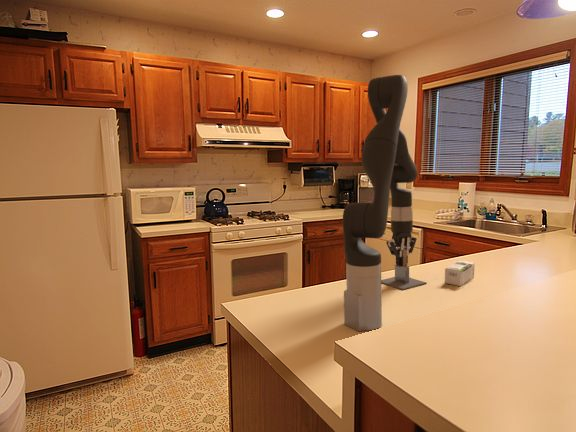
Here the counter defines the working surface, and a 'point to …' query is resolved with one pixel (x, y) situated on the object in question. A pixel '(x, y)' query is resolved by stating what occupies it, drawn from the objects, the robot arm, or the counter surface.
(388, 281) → the mat
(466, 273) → the syrup box
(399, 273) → the brown piece
